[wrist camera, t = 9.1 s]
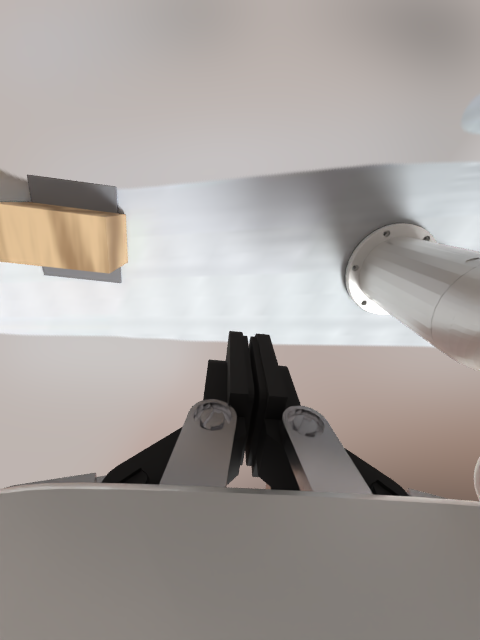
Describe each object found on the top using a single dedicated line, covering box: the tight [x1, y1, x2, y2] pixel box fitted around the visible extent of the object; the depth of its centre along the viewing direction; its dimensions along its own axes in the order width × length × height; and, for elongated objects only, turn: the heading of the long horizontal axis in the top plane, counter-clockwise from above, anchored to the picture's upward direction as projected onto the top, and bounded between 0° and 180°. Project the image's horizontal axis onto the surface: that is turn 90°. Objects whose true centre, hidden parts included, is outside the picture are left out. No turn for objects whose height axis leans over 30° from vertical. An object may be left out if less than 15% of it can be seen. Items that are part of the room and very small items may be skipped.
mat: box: [27, 175, 121, 283], centre depth 34 cm, size 10×12×1 cm
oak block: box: [0, 201, 128, 274], centre depth 32 cm, size 6×6×12 cm
